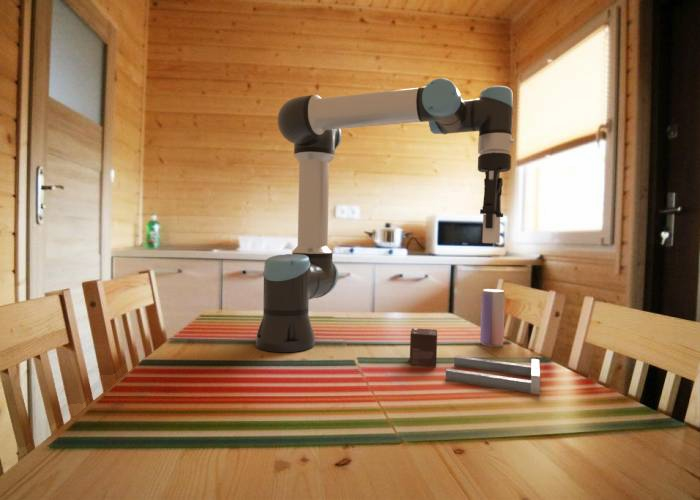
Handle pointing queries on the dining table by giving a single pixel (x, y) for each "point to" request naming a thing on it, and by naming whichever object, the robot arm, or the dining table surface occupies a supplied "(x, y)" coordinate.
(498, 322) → the beverage can
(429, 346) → the box
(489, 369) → the channel
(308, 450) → the dining table surface
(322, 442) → the dining table surface
